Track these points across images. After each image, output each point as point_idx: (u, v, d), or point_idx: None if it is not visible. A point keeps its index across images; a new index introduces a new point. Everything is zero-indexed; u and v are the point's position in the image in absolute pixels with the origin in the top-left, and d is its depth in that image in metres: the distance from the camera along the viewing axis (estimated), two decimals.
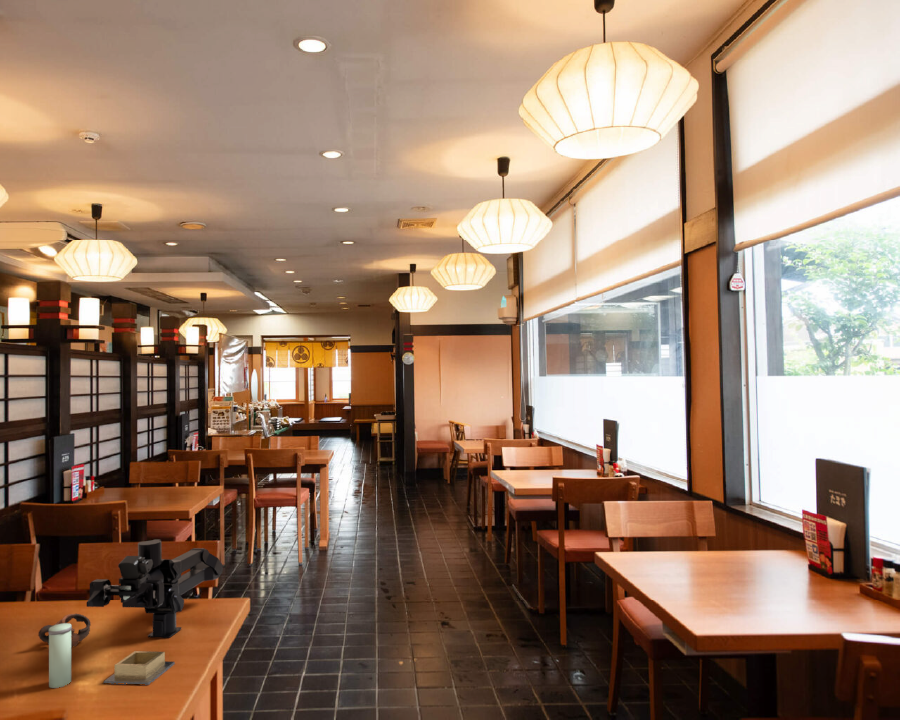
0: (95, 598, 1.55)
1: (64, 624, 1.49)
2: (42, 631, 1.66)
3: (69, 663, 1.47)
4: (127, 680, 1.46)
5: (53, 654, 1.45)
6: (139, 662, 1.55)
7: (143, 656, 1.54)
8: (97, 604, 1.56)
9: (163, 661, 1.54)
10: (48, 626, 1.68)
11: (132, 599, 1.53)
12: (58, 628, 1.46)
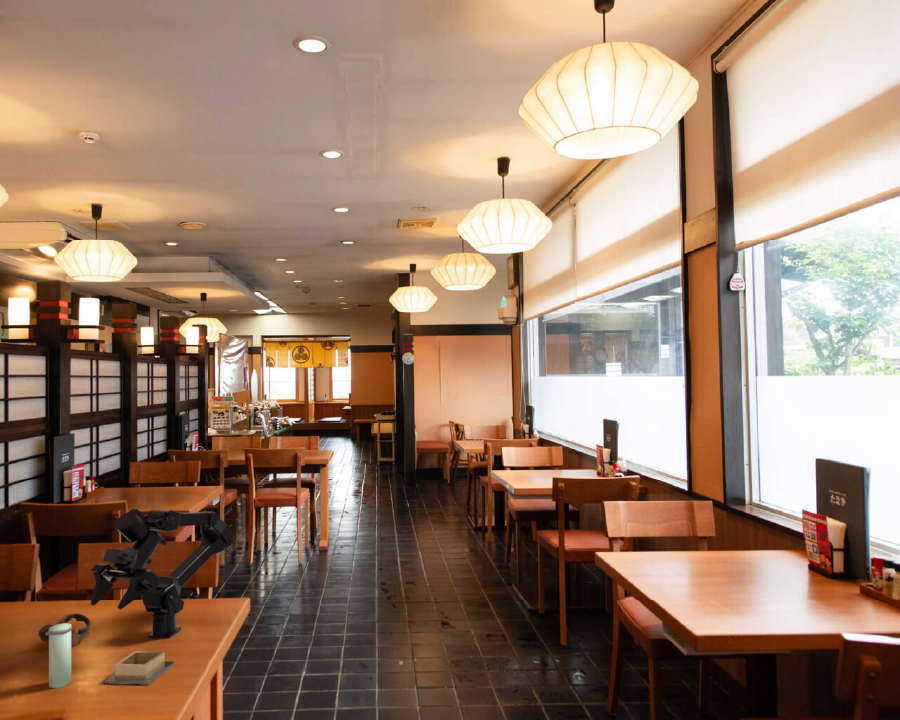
0: (98, 593, 1.62)
1: (64, 624, 1.49)
2: (42, 631, 1.67)
3: (69, 663, 1.47)
4: (127, 680, 1.46)
5: (53, 654, 1.45)
6: (139, 662, 1.55)
7: (143, 656, 1.54)
8: (104, 593, 1.64)
9: (163, 661, 1.54)
10: (48, 626, 1.68)
11: (126, 599, 1.58)
12: (58, 628, 1.46)
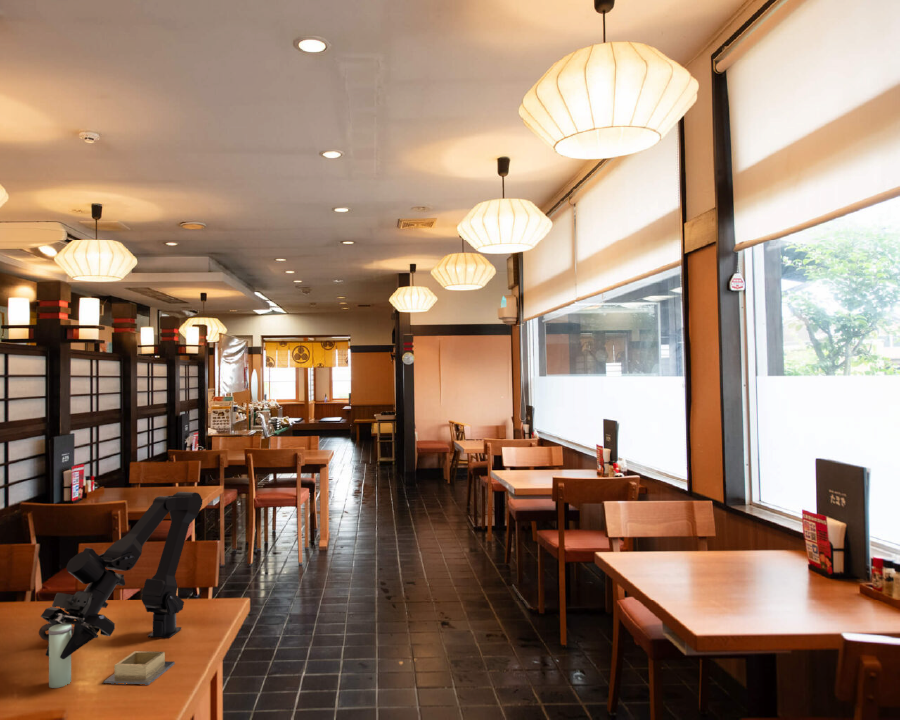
0: None
1: (64, 624, 1.49)
2: (42, 629, 1.68)
3: (69, 663, 1.47)
4: (127, 680, 1.46)
5: (53, 654, 1.45)
6: (139, 662, 1.55)
7: (143, 656, 1.54)
8: None
9: (163, 661, 1.54)
10: (48, 624, 1.69)
11: (69, 647, 1.46)
12: (58, 628, 1.46)
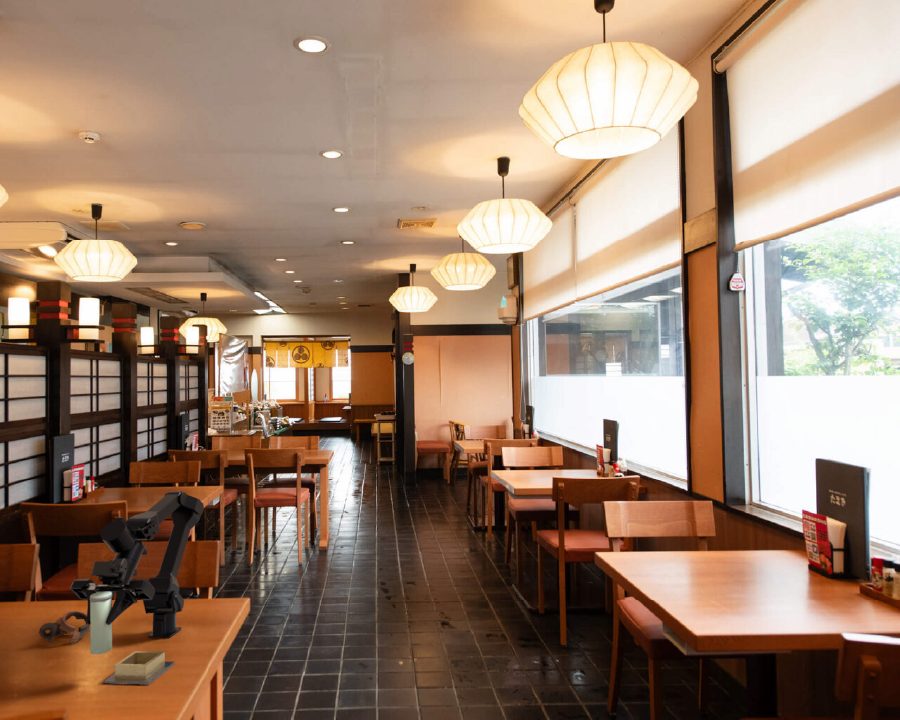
0: None
1: (103, 592, 1.50)
2: (43, 628, 1.68)
3: (111, 629, 1.49)
4: (127, 680, 1.46)
5: (98, 621, 1.46)
6: (139, 662, 1.55)
7: (143, 656, 1.54)
8: None
9: (163, 661, 1.54)
10: (48, 624, 1.70)
11: (114, 613, 1.48)
12: (101, 595, 1.48)
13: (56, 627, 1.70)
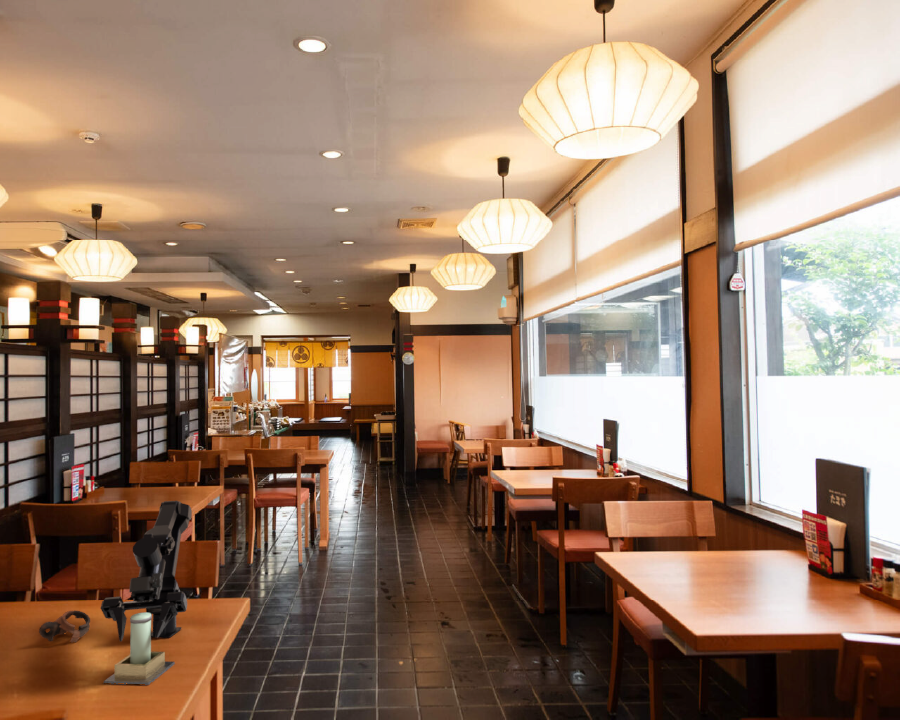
0: (122, 627, 1.51)
1: (140, 613, 1.53)
2: (43, 628, 1.69)
3: (150, 649, 1.53)
4: (127, 680, 1.46)
5: (141, 641, 1.50)
6: None
7: None
8: (124, 627, 1.53)
9: (163, 661, 1.54)
10: (49, 623, 1.70)
11: (161, 626, 1.53)
12: (142, 616, 1.51)
13: (56, 626, 1.70)
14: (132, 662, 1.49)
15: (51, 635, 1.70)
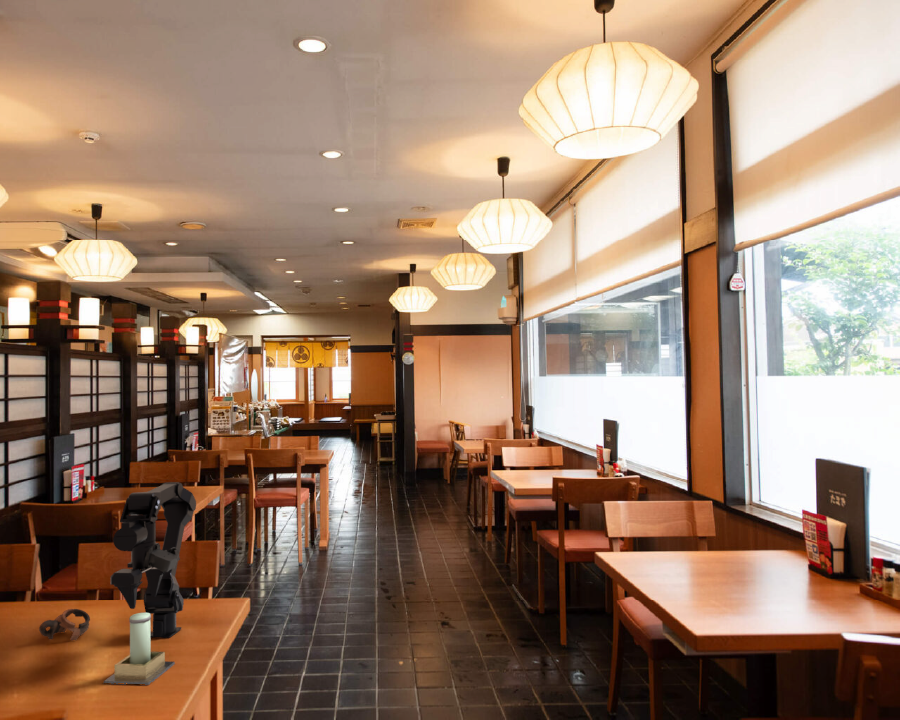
0: None
1: (139, 613, 1.53)
2: (43, 626, 1.70)
3: None
4: (127, 680, 1.46)
5: (141, 641, 1.50)
6: None
7: None
8: None
9: (163, 661, 1.54)
10: (49, 621, 1.71)
11: None
12: (141, 616, 1.51)
13: (56, 624, 1.72)
14: (132, 662, 1.49)
15: (51, 633, 1.72)
